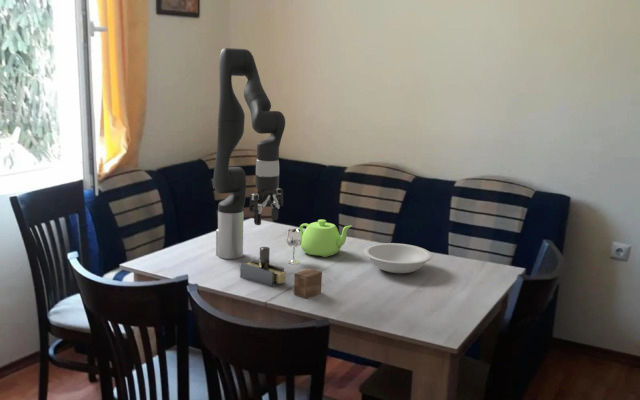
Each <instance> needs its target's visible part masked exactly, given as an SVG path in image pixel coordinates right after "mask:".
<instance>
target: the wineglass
mask: <svg viewBox="0 0 640 400" xmlns="http://www.w3.org/2000/svg"><path fill="white" fill-rule="evenodd" d="M285 238H286V239H285V241H286V245H287V246H289V247H290V248H292V250H291V251H292V259H289V260H287V263H288V264H290V265H297V264H299V263H300V261H299V260H297V259H295V252H296V248H298V247H301V246H300V245H301V243H302V234H301V230H300V229H299V228H289V229H288V230H287V233H286V237H285Z"/></svg>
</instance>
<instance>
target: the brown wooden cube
mask: <svg viewBox="0 0 640 400" xmlns="http://www.w3.org/2000/svg"><path fill="white" fill-rule="evenodd" d="M322 278H323V271H320V270H317V269H313V268H310V267H307V268H305V269H302V270H300V271H296V272H295V273H294V278H293V280H294V282H293V283H294V284H293V286H294V287H293V295H295V296H297V297H301V298H304V299H308V300H309V299H310V298H312V297H315V296H317V295H319V294H321V293H322V280H323V279H322Z"/></svg>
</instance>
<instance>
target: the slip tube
mask: <svg viewBox="0 0 640 400" xmlns="http://www.w3.org/2000/svg"><path fill="white" fill-rule="evenodd" d="M259 261H260V265H257V264H254V263H250V262H245V263H246V264H250V265H253V266H257V267H260V268H264V269H267V270H271V271H274V282H276V283H279V284H278V285H280V283H281V284H282V283H285V282H286V281H287V280H286V278H287V276H286V275H287V273H286V272H285V271H284V272H282V271H278V270H275V269H271V268H269V264H270V247H268V246H261V247H259Z"/></svg>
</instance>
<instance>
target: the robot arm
mask: <svg viewBox="0 0 640 400" xmlns="http://www.w3.org/2000/svg"><path fill="white" fill-rule="evenodd" d="M218 61H219V62H218V71H219V72H218V73H219V99H218V101H219V103H218V116H217V141H216V142H217V143H216V145H217V146H216V154H215V162H214V169H213V186H214V189H215V192H217V194H221V195H222V194H229V195H228V196H227V197H226V198H224V199H223V200H221V201H219V202H218V205H217V229H216V231H215V240H216V241H215V255H216V256H217V257H219V258H221V259H226V260H233V259H234V260H236V259H239V258H242V257H243V256H244V206H245V203H246V192H247V191H246V190H247V177H246V172H245V170H244V168H243V167H241V166H232V167H231V166H230V167H229V165H230V160H231V156H232V155H233V153H234V150H235V149H236V147H238V144H239V143H240V141H241V139H242V138H243V135H244V132H245V131H244V130H245V119H246V118H245V117H246V116H245V115H246V114H245V112H244V109H243V106H242V105H241V102H239V101H240V100H239V99H238V97H237V96H236V94H235V92H234V89H233V88H234V87H233V83H232V78H233V77H232V76H235V77H245V78H246V79H247V81H246V84H245V86H244V89H243V97H244V101H245V102H246V104H247V106H248V109H249V111H250V117H251V127H252V129H253V131H254V132H256V133H257V134H261V135H263V134H269V137H268V138H267V139H264V140H260V141H258V143H257V145H256V163H255V184H254V185H255V186H254V187H255V188H256V189H257V192H256V193H250V194H249V207H248V208H249V209H248V210H249V211H248V212H249V213H252V214H253V222H254V225H255V226H256V225H257V226H261V225H262V211H263V209H265V208H266V206H268V205H270V206H271V207H272V208H271V220H273V221H277V220H278V219H279V209H280V208H281V207H283V206H284V189H283V188H280V187H279V186H280V185H279V184H280V161H279V160H280V158H279V157H280V147H281V146H280V145H281V141H282V139H283V134H284V131H285V128H286V117H285V115H284V113H282V112H281V111H280V110H271V109H272V102H271V101H270V99H269V97H268V95H267V93H266V91H265V89H264V86H263V85H262V84H263V83H262V81H261V78H260V75H259V70H258V67H257V65H256V61H255V58H254V55H253V54H252V52H251V50H249V49H245V48H234V47H233V48H231V47H225V48H222V49H221V51H220V54H219V59H218Z"/></svg>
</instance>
